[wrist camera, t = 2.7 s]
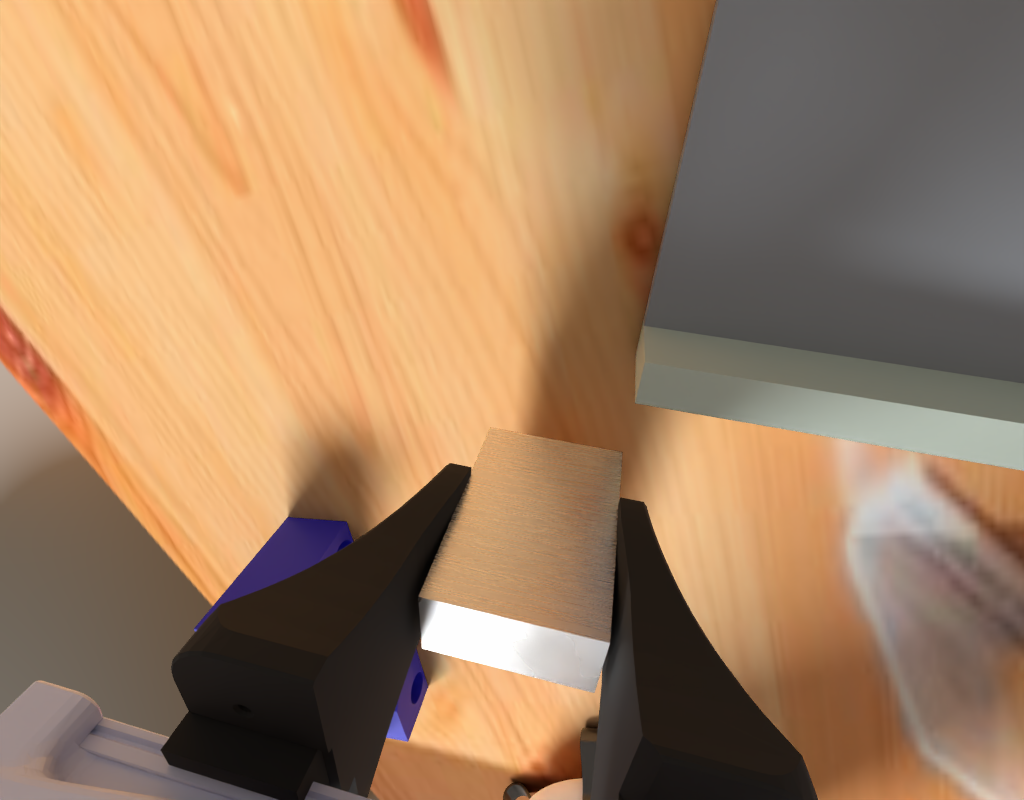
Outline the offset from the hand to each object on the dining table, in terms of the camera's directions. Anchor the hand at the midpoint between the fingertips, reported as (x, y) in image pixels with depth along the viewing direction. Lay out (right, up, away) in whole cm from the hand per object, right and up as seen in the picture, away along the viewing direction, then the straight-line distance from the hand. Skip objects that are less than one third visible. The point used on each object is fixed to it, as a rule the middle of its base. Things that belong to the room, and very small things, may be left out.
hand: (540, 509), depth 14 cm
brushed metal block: (0, -2, +4) cm, 5 cm away
